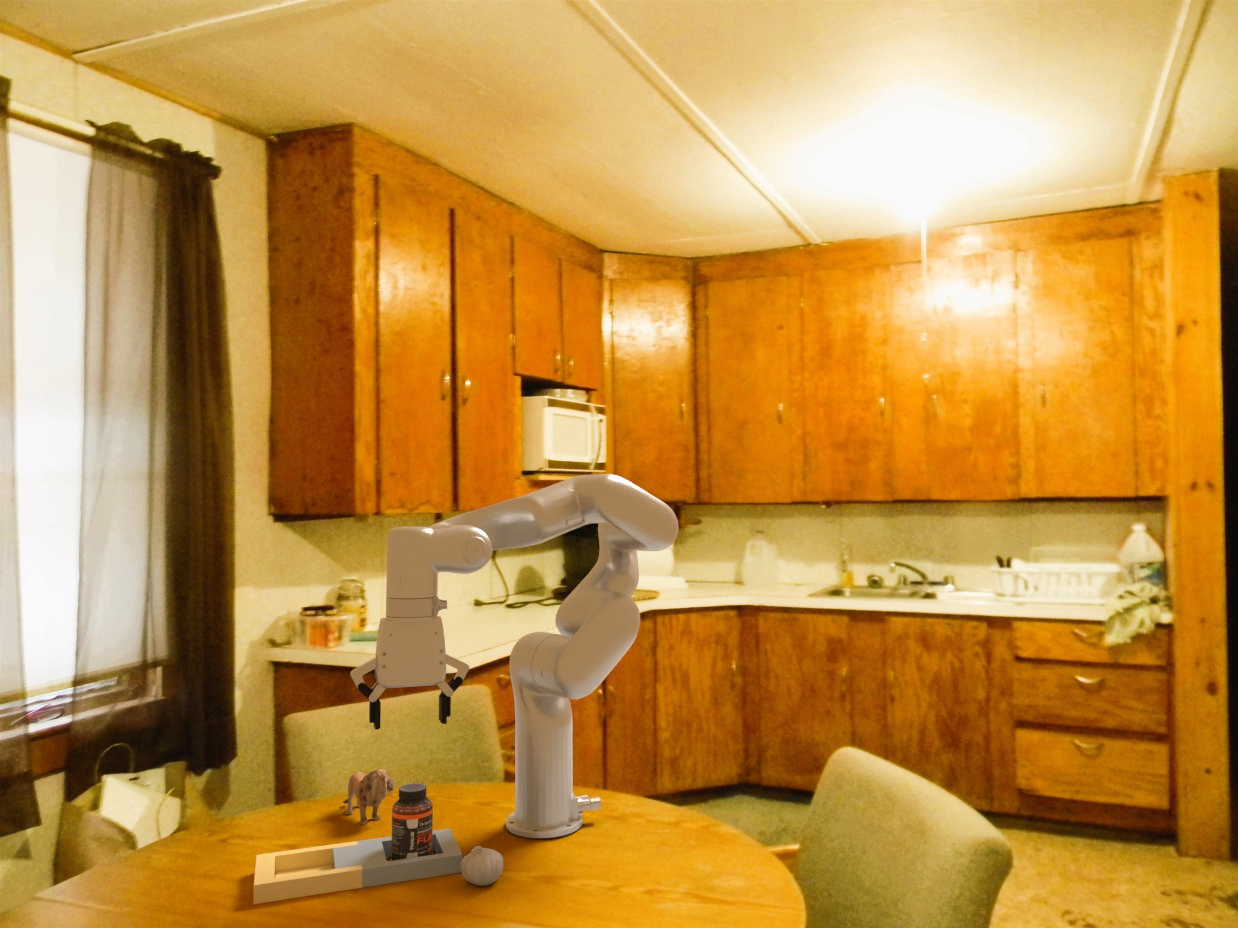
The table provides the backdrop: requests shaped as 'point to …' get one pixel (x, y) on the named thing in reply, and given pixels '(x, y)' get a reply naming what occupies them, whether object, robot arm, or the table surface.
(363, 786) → the lion figurine
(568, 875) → the table surface
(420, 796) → the supplement bottle
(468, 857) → the garlic
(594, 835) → the table surface
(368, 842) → the beige and grey tray
